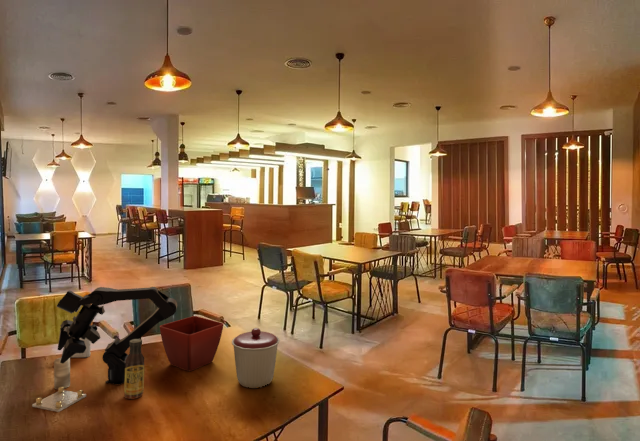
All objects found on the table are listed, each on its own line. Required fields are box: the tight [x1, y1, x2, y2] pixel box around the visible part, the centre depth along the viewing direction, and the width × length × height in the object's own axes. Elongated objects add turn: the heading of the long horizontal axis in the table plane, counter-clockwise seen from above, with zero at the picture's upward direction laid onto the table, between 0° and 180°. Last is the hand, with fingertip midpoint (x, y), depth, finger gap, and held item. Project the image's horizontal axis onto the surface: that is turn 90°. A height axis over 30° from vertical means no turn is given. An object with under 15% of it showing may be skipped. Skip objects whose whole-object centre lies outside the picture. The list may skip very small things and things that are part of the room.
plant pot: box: [159, 315, 224, 372], centre depth 172 cm, size 19×19×17 cm
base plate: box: [31, 386, 87, 413], centre depth 139 cm, size 11×11×2 cm
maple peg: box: [53, 357, 71, 390], centre depth 150 cm, size 5×5×10 cm
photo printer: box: [70, 338, 92, 359], centre depth 178 cm, size 10×4×12 cm, turn 98°
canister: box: [231, 327, 281, 389], centre depth 156 cm, size 18×18×21 cm
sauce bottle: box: [123, 338, 145, 400], centre depth 143 cm, size 6×6×20 cm
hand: (60, 356), depth 149 cm, fingers open, 9 cm apart
